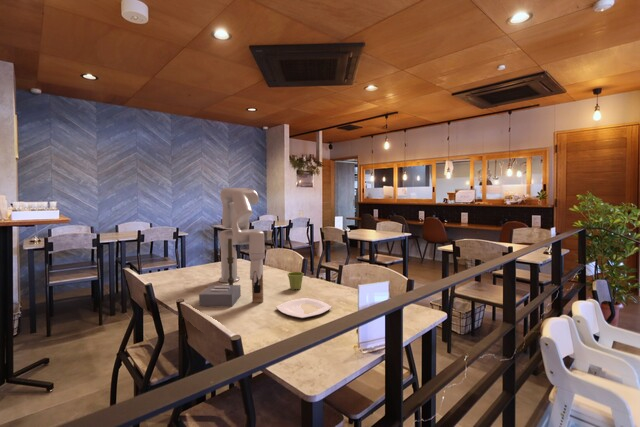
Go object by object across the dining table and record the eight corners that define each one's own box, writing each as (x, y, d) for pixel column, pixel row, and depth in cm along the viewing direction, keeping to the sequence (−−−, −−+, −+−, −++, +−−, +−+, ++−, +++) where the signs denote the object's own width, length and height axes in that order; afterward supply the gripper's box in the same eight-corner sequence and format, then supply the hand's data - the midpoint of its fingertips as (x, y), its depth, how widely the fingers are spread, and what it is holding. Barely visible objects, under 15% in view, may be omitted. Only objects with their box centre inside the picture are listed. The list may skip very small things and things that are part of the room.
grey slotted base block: (210, 296, 180) (210, 283, 180) (240, 296, 180) (240, 283, 179) (199, 306, 164) (199, 293, 164) (232, 306, 164) (231, 293, 163)
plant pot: (284, 289, 191) (284, 274, 190) (293, 285, 199) (293, 271, 199) (298, 292, 187) (298, 276, 186) (306, 287, 195) (306, 272, 194)
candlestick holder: (224, 293, 184) (223, 239, 181) (221, 289, 192) (219, 237, 190) (241, 291, 188) (240, 238, 186) (237, 287, 196) (236, 235, 194)
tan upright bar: (253, 301, 172) (253, 274, 171) (263, 301, 171) (262, 274, 170) (252, 302, 169) (251, 275, 168) (262, 302, 169) (261, 275, 168)
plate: (269, 310, 159) (269, 306, 159) (305, 299, 175) (305, 295, 175) (301, 324, 143) (301, 320, 143) (338, 310, 159) (338, 306, 159)
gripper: (253, 252, 177) (253, 287, 178) (245, 259, 161) (246, 297, 162) (267, 252, 177) (267, 287, 178) (261, 259, 161) (262, 297, 162)
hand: (257, 291), depth 170 cm, fingers closed on tan upright bar, 2 cm apart
